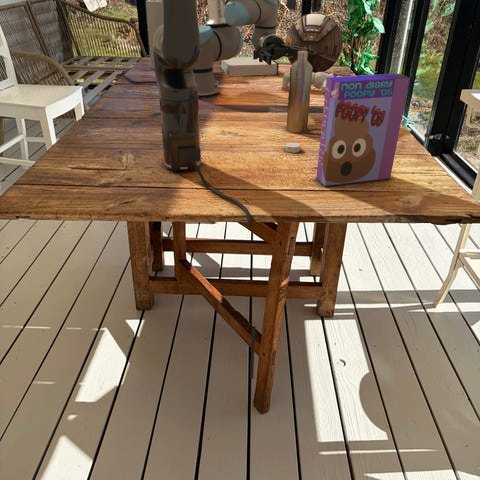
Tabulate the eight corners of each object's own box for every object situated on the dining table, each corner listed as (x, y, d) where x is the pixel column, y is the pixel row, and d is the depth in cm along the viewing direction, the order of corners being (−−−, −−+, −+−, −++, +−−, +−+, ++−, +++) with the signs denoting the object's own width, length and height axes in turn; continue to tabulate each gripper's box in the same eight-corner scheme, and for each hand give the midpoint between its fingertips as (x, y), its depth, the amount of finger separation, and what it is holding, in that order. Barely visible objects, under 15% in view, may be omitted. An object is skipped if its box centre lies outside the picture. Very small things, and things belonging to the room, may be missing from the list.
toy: (311, 101, 176) (313, 82, 172) (274, 86, 194) (275, 69, 190) (361, 94, 186) (364, 75, 182) (322, 80, 204) (323, 63, 201)
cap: (284, 151, 131) (284, 146, 130) (286, 146, 135) (286, 141, 134) (298, 153, 130) (299, 147, 130) (300, 148, 134) (301, 143, 133)
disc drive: (278, 75, 213) (279, 63, 210) (229, 76, 208) (229, 64, 206) (267, 67, 228) (267, 55, 225) (221, 68, 223) (221, 57, 220)
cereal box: (324, 186, 112) (336, 81, 99) (316, 178, 116) (326, 76, 103) (390, 178, 116) (409, 77, 103) (379, 171, 120) (397, 72, 107)
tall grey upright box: (195, 63, 233) (193, -1, 218) (192, 69, 220) (189, 2, 206) (156, 62, 233) (152, -2, 219) (150, 68, 221) (145, 1, 206)
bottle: (306, 126, 150) (313, 50, 139) (307, 133, 145) (314, 54, 133) (286, 126, 151) (291, 49, 139) (286, 132, 145) (291, 53, 134)
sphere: (341, 70, 223) (348, 11, 211) (336, 82, 203) (343, 17, 190) (288, 66, 229) (292, 9, 216) (278, 77, 208) (281, 14, 196)
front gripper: (344, -71, 103) (335, 12, 111) (299, -69, 113) (294, 7, 121) (319, -72, 99) (312, 14, 108) (275, -71, 109) (272, 8, 117)
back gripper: (305, 57, 168) (328, 71, 150) (236, 58, 162) (251, 73, 145) (307, 34, 164) (331, 46, 146) (236, 35, 158) (252, 47, 141)
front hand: (303, 10), depth 114 cm, fingers open, 8 cm apart
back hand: (291, 59), depth 145 cm, fingers open, 13 cm apart
